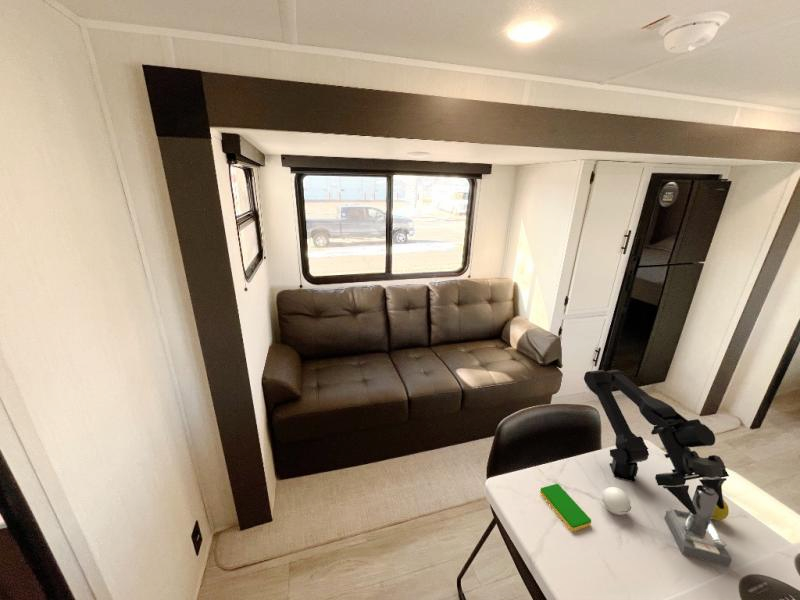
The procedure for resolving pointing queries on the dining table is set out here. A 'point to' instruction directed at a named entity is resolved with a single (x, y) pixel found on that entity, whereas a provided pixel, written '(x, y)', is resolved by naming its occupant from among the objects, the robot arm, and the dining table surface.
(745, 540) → the dining table surface
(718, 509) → the lemon
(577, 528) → the dish sponge
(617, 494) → the white egg
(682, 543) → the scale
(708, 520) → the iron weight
